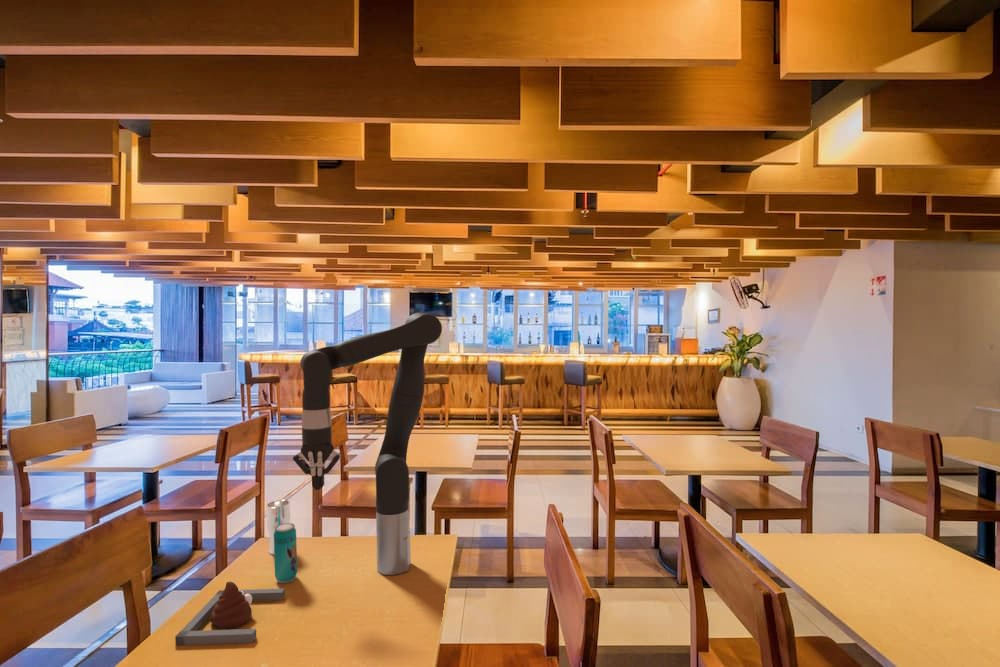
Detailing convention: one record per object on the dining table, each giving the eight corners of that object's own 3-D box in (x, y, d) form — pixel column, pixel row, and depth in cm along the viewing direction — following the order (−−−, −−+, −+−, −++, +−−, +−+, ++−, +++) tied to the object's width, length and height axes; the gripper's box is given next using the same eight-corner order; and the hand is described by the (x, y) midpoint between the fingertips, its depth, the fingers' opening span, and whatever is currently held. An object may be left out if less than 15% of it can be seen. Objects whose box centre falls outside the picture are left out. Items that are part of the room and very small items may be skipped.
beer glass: (296, 548, 169) (295, 501, 168) (278, 557, 162) (277, 508, 162) (280, 544, 172) (279, 498, 171) (262, 553, 165) (261, 505, 165)
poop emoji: (202, 623, 128) (201, 585, 127) (235, 606, 135) (234, 570, 135) (227, 635, 123) (226, 595, 122) (260, 617, 130) (259, 579, 130)
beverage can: (289, 585, 145) (288, 531, 145) (270, 583, 146) (269, 529, 146) (301, 575, 151) (300, 523, 150) (283, 573, 152) (281, 521, 151)
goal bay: (285, 596, 140) (285, 588, 139) (252, 642, 120) (252, 634, 120) (219, 598, 139) (219, 590, 139) (175, 645, 119) (175, 636, 119)
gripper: (345, 421, 146) (346, 484, 147) (296, 422, 146) (298, 485, 146) (337, 427, 139) (339, 492, 139) (286, 428, 138) (288, 494, 139)
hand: (318, 488), depth 143 cm, fingers closed
